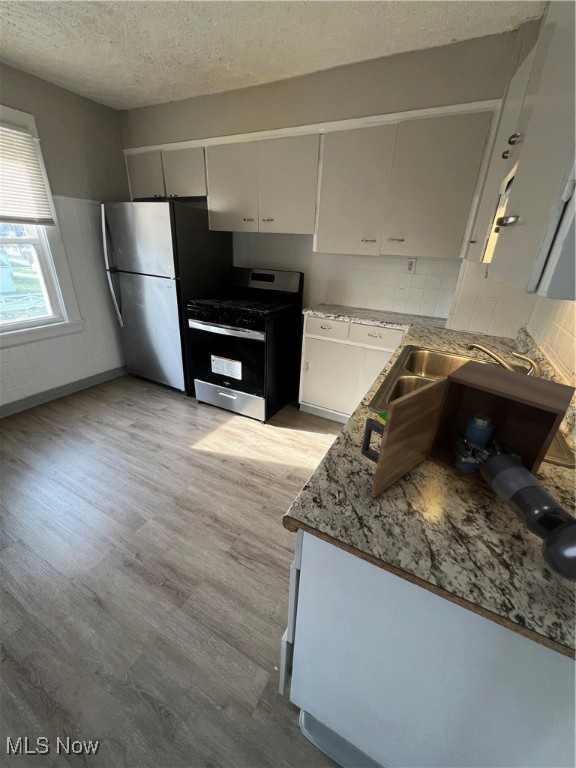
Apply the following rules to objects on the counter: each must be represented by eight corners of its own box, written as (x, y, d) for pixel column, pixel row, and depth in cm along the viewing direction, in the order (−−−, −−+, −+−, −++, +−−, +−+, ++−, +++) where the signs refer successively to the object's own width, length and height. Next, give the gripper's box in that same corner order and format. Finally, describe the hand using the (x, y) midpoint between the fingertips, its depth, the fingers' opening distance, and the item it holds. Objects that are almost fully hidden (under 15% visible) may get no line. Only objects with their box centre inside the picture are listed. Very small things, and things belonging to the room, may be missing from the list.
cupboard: (521, 505, 69) (566, 411, 59) (424, 457, 83) (447, 375, 73) (535, 472, 80) (576, 387, 69) (447, 434, 94) (470, 359, 83)
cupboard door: (350, 480, 74) (365, 391, 64) (402, 446, 87) (420, 368, 77) (374, 497, 69) (394, 404, 59) (424, 459, 82) (448, 377, 72)
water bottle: (479, 467, 79) (498, 418, 73) (472, 476, 76) (491, 426, 69) (458, 457, 82) (474, 409, 76) (450, 466, 79) (467, 416, 73)
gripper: (555, 469, 61) (502, 422, 76) (482, 466, 61) (443, 420, 76) (540, 498, 64) (492, 447, 80) (471, 495, 64) (436, 445, 79)
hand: (468, 434), depth 78 cm, fingers closed on water bottle, 5 cm apart
